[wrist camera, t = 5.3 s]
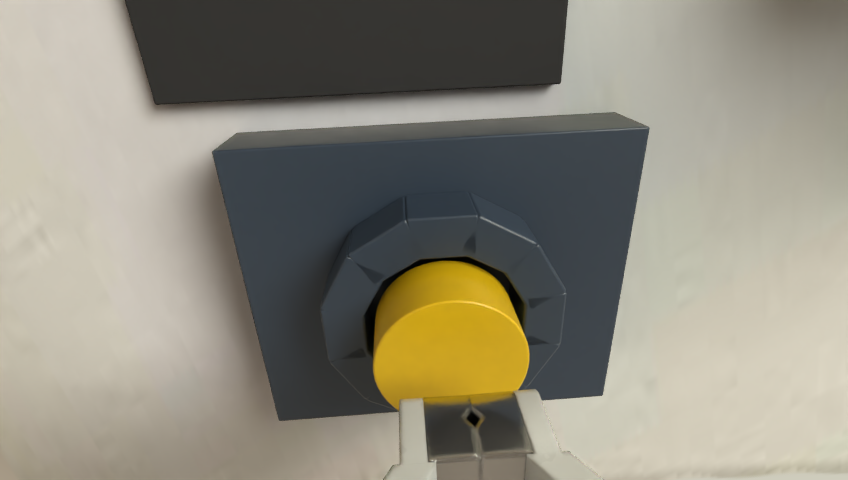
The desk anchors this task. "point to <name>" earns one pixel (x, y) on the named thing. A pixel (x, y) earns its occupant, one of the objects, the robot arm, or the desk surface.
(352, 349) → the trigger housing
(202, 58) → the mat
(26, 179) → the desk surface
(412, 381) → the cylinder
